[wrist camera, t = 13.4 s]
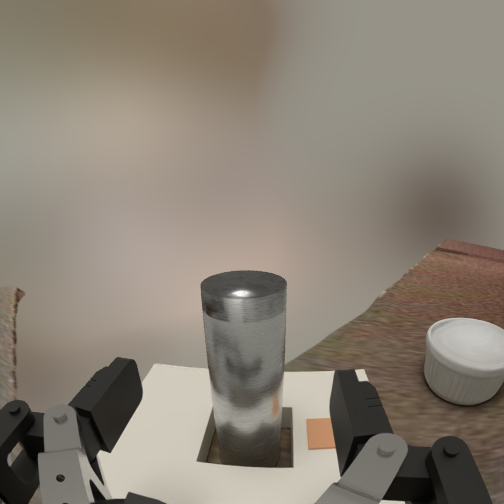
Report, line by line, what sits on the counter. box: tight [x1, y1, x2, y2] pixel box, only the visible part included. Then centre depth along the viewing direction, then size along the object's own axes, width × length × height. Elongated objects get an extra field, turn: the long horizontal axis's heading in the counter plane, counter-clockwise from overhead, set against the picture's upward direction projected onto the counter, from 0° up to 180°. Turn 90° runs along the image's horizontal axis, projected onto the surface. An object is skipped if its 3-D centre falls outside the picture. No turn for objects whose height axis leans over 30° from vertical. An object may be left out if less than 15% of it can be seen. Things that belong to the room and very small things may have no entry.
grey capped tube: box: [201, 271, 287, 468], centre depth 17 cm, size 4×4×14 cm
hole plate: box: [97, 364, 405, 504], centre depth 18 cm, size 20×16×3 cm
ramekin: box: [424, 318, 504, 405], centre depth 23 cm, size 11×11×5 cm
